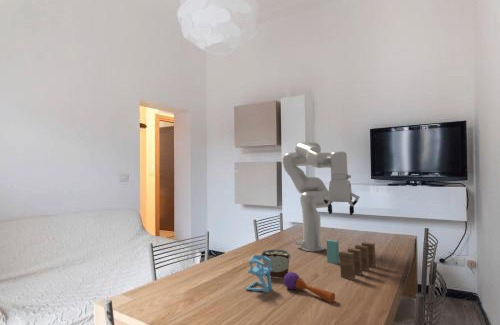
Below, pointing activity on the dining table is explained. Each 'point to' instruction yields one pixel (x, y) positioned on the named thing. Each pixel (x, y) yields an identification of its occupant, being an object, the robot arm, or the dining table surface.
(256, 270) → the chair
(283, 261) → the food container
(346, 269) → the domino
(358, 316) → the dining table surface
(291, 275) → the purple and orange maraca
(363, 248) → the domino
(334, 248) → the teal domino
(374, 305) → the dining table surface
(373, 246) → the domino
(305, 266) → the dining table surface
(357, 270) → the domino
